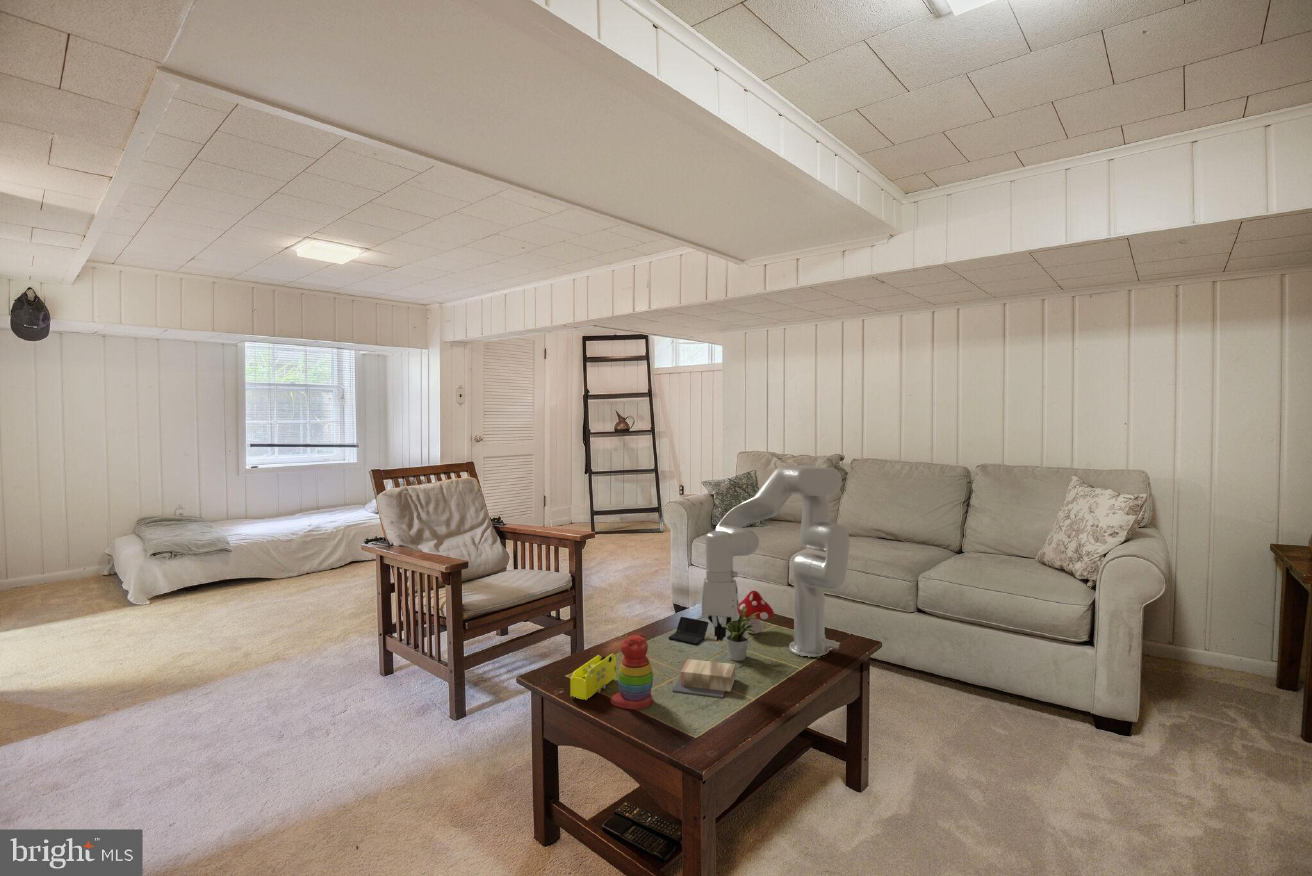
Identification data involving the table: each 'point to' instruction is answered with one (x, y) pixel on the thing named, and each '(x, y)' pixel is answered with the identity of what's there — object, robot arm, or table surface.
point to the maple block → (708, 675)
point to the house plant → (738, 636)
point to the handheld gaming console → (690, 631)
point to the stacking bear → (634, 675)
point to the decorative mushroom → (755, 610)
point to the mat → (697, 690)
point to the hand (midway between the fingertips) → (720, 638)
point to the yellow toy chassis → (593, 676)
